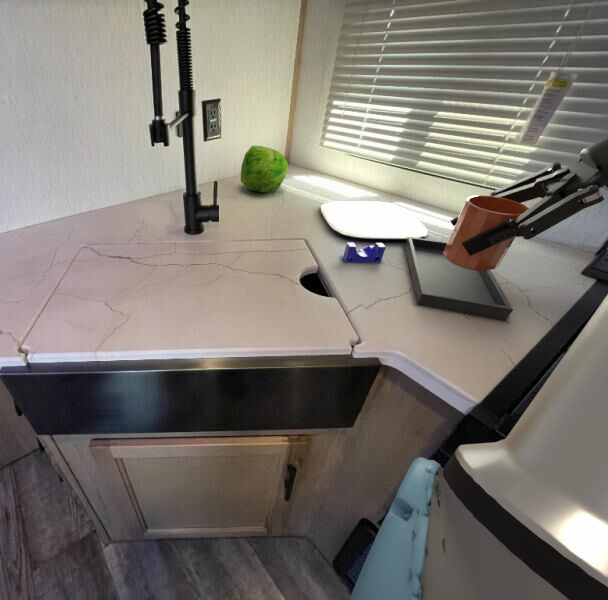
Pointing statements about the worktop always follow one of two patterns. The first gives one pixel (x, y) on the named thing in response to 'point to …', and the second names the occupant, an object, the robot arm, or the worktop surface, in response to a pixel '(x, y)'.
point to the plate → (372, 220)
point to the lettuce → (263, 169)
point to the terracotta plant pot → (475, 220)
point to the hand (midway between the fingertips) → (459, 237)
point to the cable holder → (364, 253)
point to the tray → (452, 282)
